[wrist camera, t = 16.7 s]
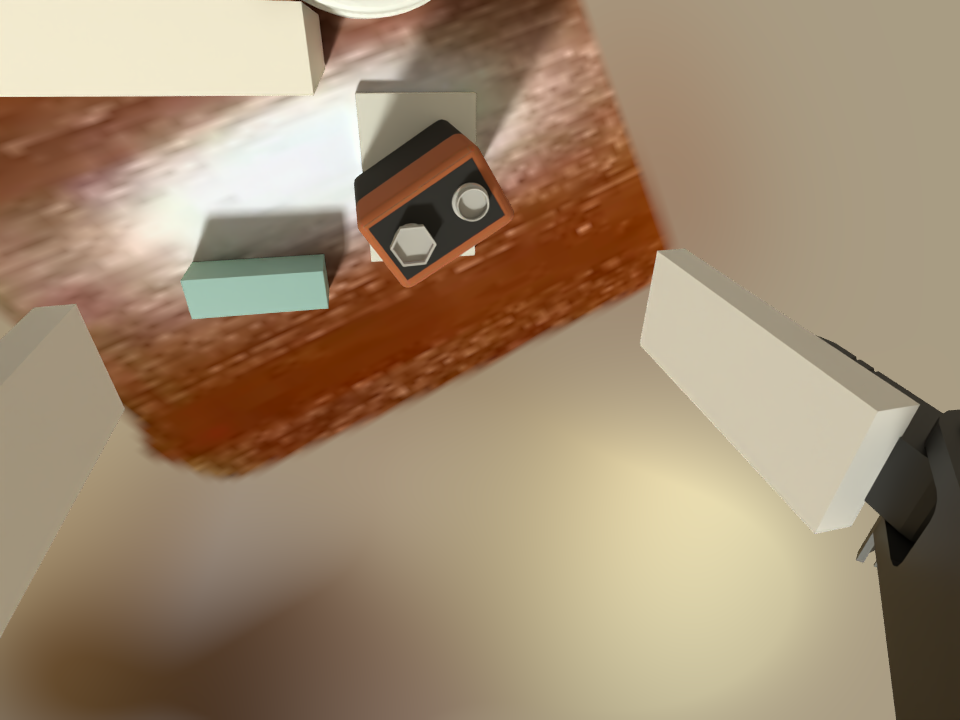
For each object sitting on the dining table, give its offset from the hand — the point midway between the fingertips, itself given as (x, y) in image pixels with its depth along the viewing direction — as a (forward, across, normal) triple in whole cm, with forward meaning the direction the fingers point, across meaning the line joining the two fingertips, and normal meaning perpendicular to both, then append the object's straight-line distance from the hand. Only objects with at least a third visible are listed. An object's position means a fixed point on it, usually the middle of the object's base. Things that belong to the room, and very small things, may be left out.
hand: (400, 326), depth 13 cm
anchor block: (+23, -7, -8) cm, 26 cm away
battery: (+23, +3, -2) cm, 23 cm away
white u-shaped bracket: (+23, -7, +5) cm, 25 cm away
